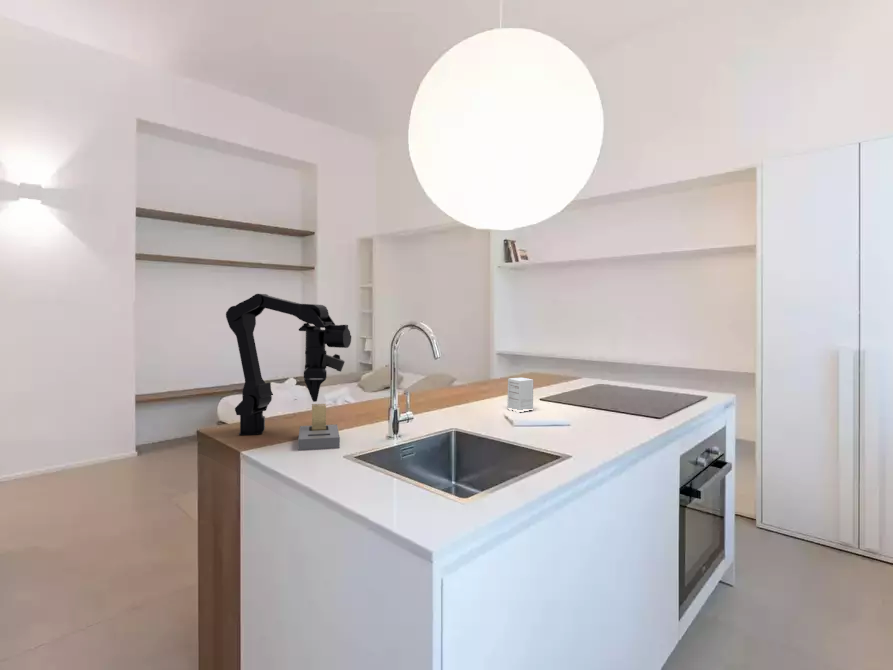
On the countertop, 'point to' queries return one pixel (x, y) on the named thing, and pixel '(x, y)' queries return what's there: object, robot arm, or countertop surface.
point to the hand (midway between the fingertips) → (314, 398)
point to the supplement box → (520, 393)
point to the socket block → (318, 438)
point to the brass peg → (318, 417)
